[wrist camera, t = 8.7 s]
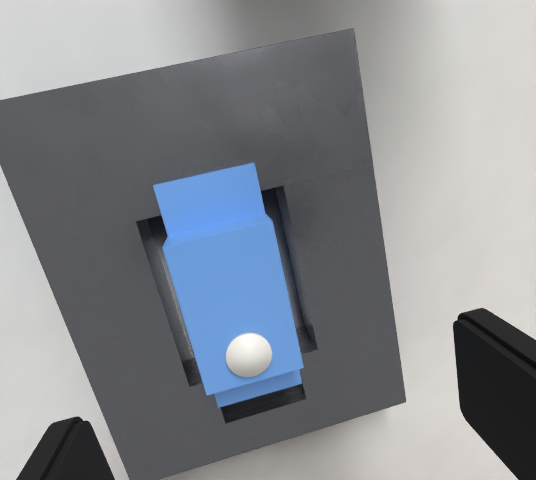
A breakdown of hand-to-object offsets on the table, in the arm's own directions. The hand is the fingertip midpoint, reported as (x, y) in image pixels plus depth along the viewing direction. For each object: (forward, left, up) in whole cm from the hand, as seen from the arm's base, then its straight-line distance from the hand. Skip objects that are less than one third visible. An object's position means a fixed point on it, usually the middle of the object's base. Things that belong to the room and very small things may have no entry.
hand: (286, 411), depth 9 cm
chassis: (+1, 0, -12) cm, 12 cm away
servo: (+1, 0, -12) cm, 12 cm away
